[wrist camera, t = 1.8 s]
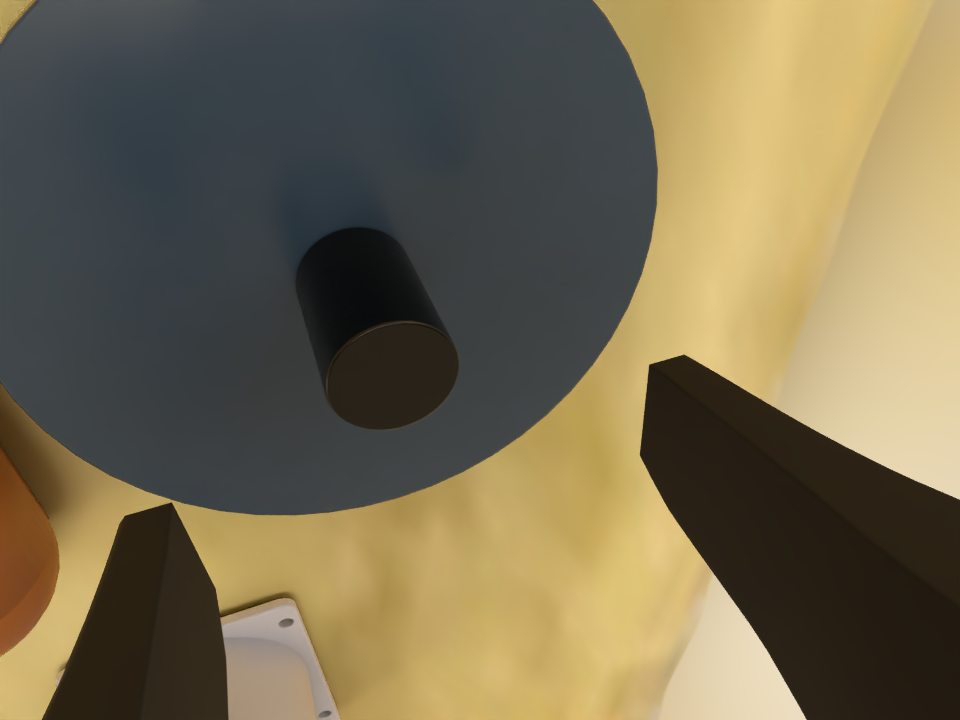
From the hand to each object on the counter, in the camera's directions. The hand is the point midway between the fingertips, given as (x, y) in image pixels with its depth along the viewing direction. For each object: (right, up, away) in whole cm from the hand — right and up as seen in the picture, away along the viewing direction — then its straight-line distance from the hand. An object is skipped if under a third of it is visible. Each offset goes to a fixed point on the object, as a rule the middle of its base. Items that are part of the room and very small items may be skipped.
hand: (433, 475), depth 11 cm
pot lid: (-2, +4, +5) cm, 6 cm away
